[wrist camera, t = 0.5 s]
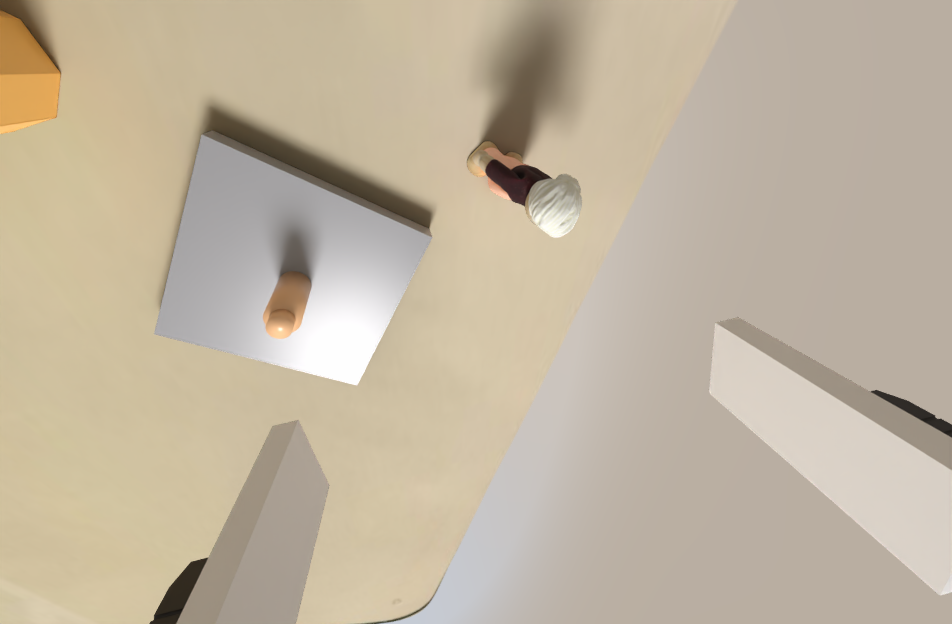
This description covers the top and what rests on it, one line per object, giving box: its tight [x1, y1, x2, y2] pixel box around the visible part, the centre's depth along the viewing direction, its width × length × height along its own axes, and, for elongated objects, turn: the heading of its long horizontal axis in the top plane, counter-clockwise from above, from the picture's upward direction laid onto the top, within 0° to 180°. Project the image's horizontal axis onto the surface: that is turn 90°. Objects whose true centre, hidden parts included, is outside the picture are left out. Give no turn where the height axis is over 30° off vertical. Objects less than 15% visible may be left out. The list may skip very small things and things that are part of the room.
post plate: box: [154, 130, 432, 385], centre depth 29 cm, size 16×16×8 cm
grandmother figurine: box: [467, 141, 582, 237], centre depth 26 cm, size 8×4×13 cm, turn 76°
